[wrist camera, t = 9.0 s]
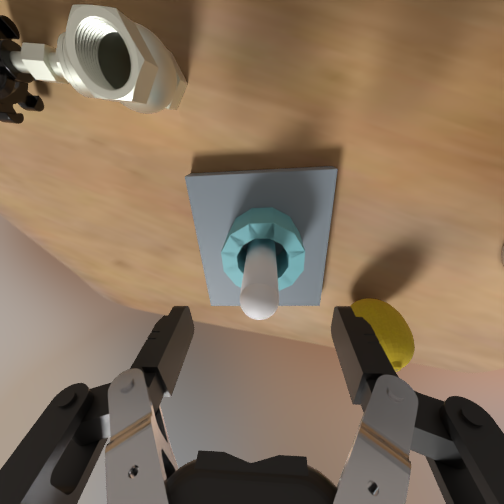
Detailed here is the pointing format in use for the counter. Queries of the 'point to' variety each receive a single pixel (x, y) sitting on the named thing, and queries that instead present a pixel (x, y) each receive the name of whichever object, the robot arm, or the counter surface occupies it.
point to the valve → (91, 64)
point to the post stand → (265, 250)
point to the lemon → (387, 330)
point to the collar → (261, 227)
